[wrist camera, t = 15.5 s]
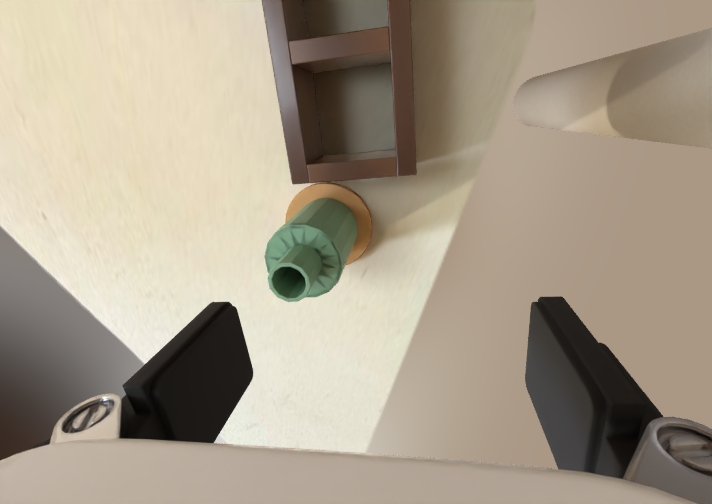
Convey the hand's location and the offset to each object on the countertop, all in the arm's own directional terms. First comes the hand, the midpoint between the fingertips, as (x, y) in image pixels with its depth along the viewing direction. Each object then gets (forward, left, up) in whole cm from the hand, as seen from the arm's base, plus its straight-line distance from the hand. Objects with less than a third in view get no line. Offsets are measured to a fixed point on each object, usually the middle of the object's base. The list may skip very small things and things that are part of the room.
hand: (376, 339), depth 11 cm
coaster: (+7, +4, -25) cm, 26 cm away
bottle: (+7, +4, -24) cm, 25 cm away
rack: (+3, -11, -25) cm, 27 cm away
